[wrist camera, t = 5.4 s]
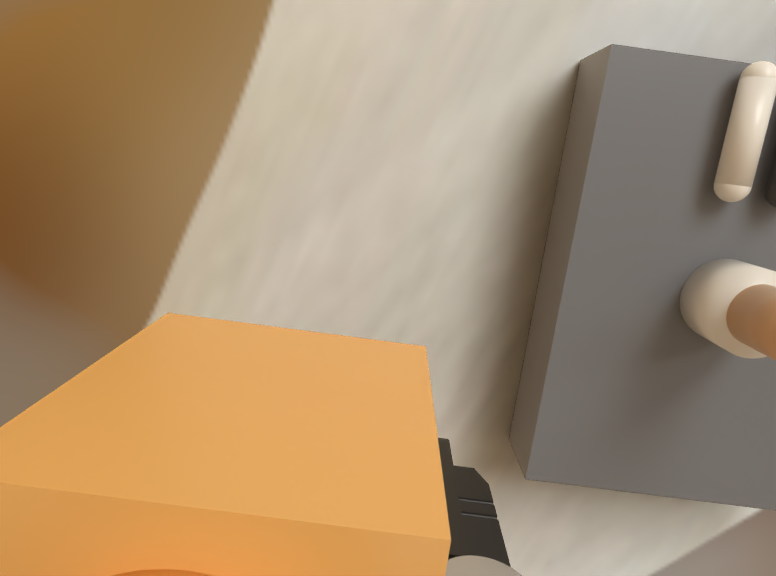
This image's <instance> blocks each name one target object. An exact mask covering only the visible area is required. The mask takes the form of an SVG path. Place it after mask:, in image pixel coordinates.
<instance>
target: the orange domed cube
mask: <svg viewBox="0 0 776 576" xmlns="http://www.w3.org/2000/svg"><path fill="white" fill-rule="evenodd" d="M450 544H451V535H450V527H449V520H448V512H447V505H446V497H445V489H444V482H443V474H442V466H441V459H440V451H439V444H438V436H437V428H436V421H435V413H434V405H433V398H432V390H431V383H430V375H429V367H428V360H427V352H426V346H419V345H411V344H403V343H396V342H388V341H380V340H372V339H365V338H357V337H349V336H342V335H334V334H326V333H319V332H311V331H303V330H295V329H288V328H280V327H272V326H265V325H257V324H249V323H242V322H234V321H226V320H218V319H211V318H203V317H195V316H188V315H180V314H172V313H167V314H166V315H164V316H163V317H161V318H160V319H158V320H157V321H155V322H154V323H152V324H151V325H149V326H148V327H147V328H145V329H144V330H142V331H141V332H139V333H138V334H136V335H135V336H133V337H132V338H130V339H129V340H128V341H126V342H125V343H123V344H122V345H120V346H119V347H117V348H116V349H115V350H113V351H111V352H110V353H109V354H107V355H106V356H104V357H103V358H101V359H100V360H98V361H97V362H95V363H94V364H92V365H91V366H89V367H88V368H87V369H85V370H84V371H82V372H81V373H79V374H78V375H77V376H75V377H74V378H72V379H71V380H69V381H68V382H66V383H65V384H63V385H62V386H60V387H59V388H57V389H56V390H54V391H53V392H51V393H50V394H48V395H47V396H46V397H44V398H43V399H41V400H40V401H38V402H37V403H35V404H34V405H32V406H31V407H29V408H28V409H27V410H25V411H24V412H22V413H21V414H19V415H18V416H16V417H15V418H13V419H12V420H10V421H9V422H8V423H6V424H5V425H3V426H2V427H0V576H445V573H446V567H447V562H448V556H449V550H450Z"/></svg>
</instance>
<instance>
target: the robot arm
mask: <svg viewBox="0 0 776 576" xmlns="http://www.w3.org/2000/svg"><path fill="white" fill-rule="evenodd" d="M438 444H439V451H440V459H441V466H442V474H443V482H444V489H445V497H446V505H447V512H448V520H449V527H450V535H451V544H450V550H449V556H448V562H447V567H446V573H445V576H522V575H520V574H519V573H518V572H517V571H515V570H514V569H512V568H511V566H510V563H509V559H508V555H507V551H506V548H505V544H504V540H503V536H502V533H501V529H500V525H499V521H498V520H497V514H496V510H495V506H494V505H493V499H492V495H491V491H490V488H489V484H488V483H487V482H486V481H485V480H484V479H483V478H482V477H481V476H480V474H479V473H478V472H477V471H476V470H475V469H474V468H468V467H460V466H453V461H452V455H451V449H450V443H449V439H444V438H438Z"/></svg>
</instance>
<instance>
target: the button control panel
mask: <svg viewBox="0 0 776 576" xmlns="http://www.w3.org/2000/svg"><path fill="white" fill-rule="evenodd" d="M509 440H510V443H511V445H512V448H513V450H514V452H515V455H516V457H517V460H518V462H519V465H520V467H521V469H522V472H523V474H524V477H525V479H528V480H536V481H544V482H552V483H560V484H568V485H576V486H584V487H592V488H600V489H608V490H616V491H624V492H632V493H640V494H648V495H656V496H664V497H672V498H680V499H688V500H696V501H704V502H712V503H720V504H728V505H736V506H744V507H752V508H760V509H768V510H776V66H775V65H774V64H772V63H771V62H767V61H758V62H755V63H752V64H750V63H743V62H736V61H729V60H722V59H714V58H707V57H700V56H693V55H686V54H679V53H672V52H665V51H657V50H650V49H643V48H636V47H629V46H622V45H615V44H611V45H609V46H607V47H605V48H603V49H601V50H599V51H597V52H595V53H594V54H592V55H590V56H588V57H586V58H584V59H582V60H580V65H579V70H578V76H577V81H576V86H575V92H574V97H573V102H572V108H571V113H570V118H569V123H568V129H567V134H566V139H565V145H564V150H563V155H562V161H561V166H560V171H559V176H558V182H557V187H556V192H555V198H554V203H553V208H552V214H551V219H550V224H549V229H548V235H547V240H546V245H545V251H544V256H543V261H542V266H541V272H540V277H539V282H538V288H537V293H536V298H535V304H534V309H533V314H532V319H531V325H530V330H529V335H528V341H527V346H526V351H525V357H524V362H523V367H522V372H521V378H520V383H519V388H518V394H517V399H516V404H515V409H514V415H513V420H512V425H511V431H510V436H509Z"/></svg>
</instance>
